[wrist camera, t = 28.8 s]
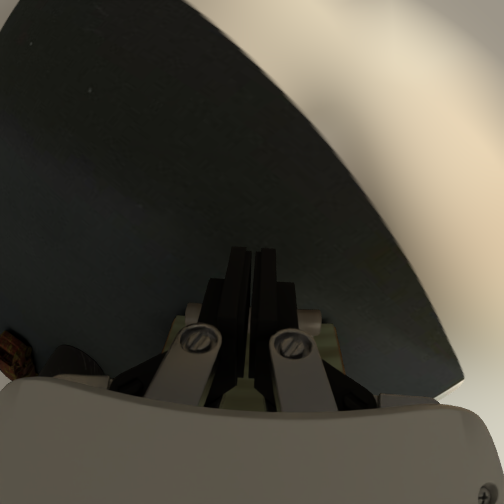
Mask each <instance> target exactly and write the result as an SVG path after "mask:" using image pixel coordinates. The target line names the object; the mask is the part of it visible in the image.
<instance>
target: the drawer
mask: <svg viewBox="0 0 504 504" xmlns="http://www.w3.org/2000/svg"><path fill="white" fill-rule="evenodd" d="M201 307H202V304H200V303H188V305H187V307H186V312H185V316H180V315H177V316H176V319H175V322H174V324H173V327H172V330H171V332H170V335H169V338H168V340H167V343H166V346H165V349H164V352H165V351H167V350H168V349H169V347H170V345H171V344H172V342H173V340H174V338H175V336H176V334H177V333H178V332H179V330H180V329H182V328H183V327H185V326H187V325H189V324H192V323H197V321H198V318H199V314H200V311H201ZM297 314H298V325H299V329H300V330H303V331H305V332H307V333H309V334H310V335H311V336H312V337H313V338H314V340H315V342H316V345H317V348H318V351H319V354H320V357H321V358H322V359H323V360H325V361H326V362H327V363H329V364H330V365H332V366H333V367H335V368H336V369H338V370H339V371H340V372H342V373H343V368H342V363H341V359H340V354H339V349H338V345H337V340H336V335H335V331H334V327H333V324H322V317H321V312H320V310H309V309H297ZM250 319H251V307H250V310H249V322H248V333H247V344H246V356H245V367H244V377H243V378H238V381H237V386H235V387H234V388H232V389H231V390H229V391H228V392H226V396H225V401H224V404H223V407H222V409H227V410H240V411H257V412H264V405H263V395H262V394H260V393H259V392H258V391H257V390H256V389H255V388H254V379H250V378H248V371H249V344H250ZM343 374H344V373H343Z"/></svg>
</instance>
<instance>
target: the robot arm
mask: <svg viewBox="0 0 504 504" xmlns="http://www.w3.org/2000/svg"><path fill="white" fill-rule="evenodd" d="M250 283H251V251H246V247H232V249H231V254H230V258H229V263H228V267H227V272H226V277H225V279H216V278H210V280H209V282H208V286H207V289H206V293H205V296H204V300H203V303H202V307H201V311H200V314H199V318H198V321H197V323H192V324H189V325H187V326H185V327H183V328H182V329H180V330H179V332H178V333H177V334H176V336H175V338H174V340H173V342H172V344H171V345H170V347H169V349H168V350H167V351H165V352H163V353H161V354H159V355H157V356H155V357H153V358H151V359H149V360H147V361H145V362H143V363H141V364H139V365H137V366H135V367H133V368H131V369H129V370H127V371H125V372H123V373H121V374H120V375H118V376H117V377H115V378H110V376H109V375H80V374H58V375H56V376H54V377H39V376H38V377H25V378H20V379H16V380H13V381H12V382H10V383H8V384H7V385H6V386H5V387H4V388H3V389H2V390H1V391H0V504H504V474H503V470H502V467H501V463H500V460H499V457H498V453H497V450H496V448H495V445H494V442H493V440H492V437H491V435H490V433H489V431H488V429H487V427H486V425H485V424H484V422H483V421H482V419H481V418H480V417H479V416H478V415H477V414H475V413H474V412H472V411H470V410H467V409H465V408H462V407H456V406H452V405H443V404H440V403H439V402H438V401H436V400H435V399H433V398H429V397H418V396H405V395H394V394H385V393H380V394H379V396H376V395H373V394H372V393H371V392H369V391H368V390H367V389H366V388H364V387H363V386H361V385H360V384H358V383H357V382H355V381H354V380H352V379H351V378H349V377H348V376H346V375H345V374H343V373H342V372H340V371H339V370H338V369H336V368H335V367H333V366H332V365H330V364H329V363H327V362H326V361H325V360H323V359H322V358H321V357H320V354H319V351H318V348H317V345H316V342H315V340H314V338H313V337H312V336H311V335H310V334H309V333H307V332H305V331H303V330H300V329H299V325H298V314H297V304H296V295H295V286H294V283H291V282H277V281H276V250H275V249H269V248H262V250H261V252H256V256H255V268H254V281H253V293H252V306H251V319H250V344H249V371H248V378H250V379H254V388H255V389H256V390H257V391H258V392H259V393H260V394H262V395H263V405H264V412H257V411H240V410H227V409H222V407H223V404H224V401H225V396H226V392H228V391H229V390H231V389H232V388H234V387H235V386H237V381H238V378H243V377H244V367H245V356H246V344H247V333H248V322H249V310H250Z"/></svg>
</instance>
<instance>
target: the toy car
mask: <svg viewBox="0 0 504 504" xmlns="http://www.w3.org/2000/svg"><path fill="white" fill-rule="evenodd" d="M31 351H32V348H31V347H30V346H29V345H28V346H26V345H25V344H24V343H23V342H22V341H20V340H19V339H17V338H16V337H14V336H13V335H12V334H10V332H8V331H4V332H3V333H2V334H1V335H0V369H1V371H2V372H3V374H4V375H5V376H6V377H8V378H9V379H10V380H12V381H13V380H16V379H20V378H25V377H37V376H38V374H36V373H35V367H34V365H33V362H32V361H33V359H32V358H31ZM10 354H11V355H10Z"/></svg>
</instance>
